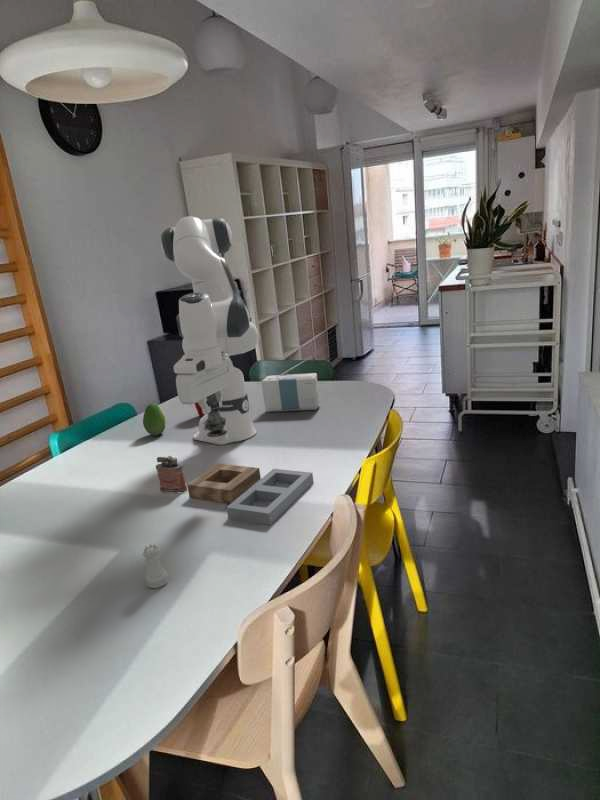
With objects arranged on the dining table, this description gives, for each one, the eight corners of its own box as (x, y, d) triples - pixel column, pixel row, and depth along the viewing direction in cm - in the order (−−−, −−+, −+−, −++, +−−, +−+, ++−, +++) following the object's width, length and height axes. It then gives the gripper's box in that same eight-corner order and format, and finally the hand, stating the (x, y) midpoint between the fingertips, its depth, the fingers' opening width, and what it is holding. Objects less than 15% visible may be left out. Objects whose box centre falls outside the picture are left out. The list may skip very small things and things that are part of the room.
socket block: (189, 498, 146) (187, 484, 145) (219, 476, 158) (217, 463, 157) (232, 504, 139) (230, 490, 138) (261, 481, 151) (259, 468, 150)
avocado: (170, 430, 205) (164, 399, 201) (163, 437, 197) (157, 406, 194) (150, 431, 206) (144, 401, 202) (142, 439, 198) (135, 407, 195)
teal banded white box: (265, 413, 211) (258, 363, 206) (270, 407, 219) (264, 358, 213) (317, 411, 206) (312, 360, 201) (321, 404, 214) (316, 355, 208)
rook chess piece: (148, 577, 112) (141, 543, 110) (170, 574, 112) (163, 540, 110) (144, 591, 108) (136, 555, 105) (167, 587, 108) (159, 552, 106)
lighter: (189, 488, 152) (183, 454, 150) (183, 493, 149) (176, 459, 147) (164, 486, 155) (158, 454, 152) (158, 492, 152) (151, 459, 149)
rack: (228, 518, 133) (226, 507, 132) (274, 478, 152) (273, 468, 151) (270, 525, 127) (269, 513, 126) (313, 482, 146) (312, 472, 145)
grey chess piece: (224, 437, 141) (216, 392, 137) (202, 438, 142) (194, 394, 139) (231, 429, 146) (223, 386, 143) (210, 430, 148) (202, 387, 144)
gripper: (217, 349, 149) (225, 397, 153) (168, 368, 131) (178, 422, 135) (237, 349, 146) (244, 398, 150) (189, 368, 129) (198, 424, 132)
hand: (212, 410), depth 142 cm, fingers closed on grey chess piece, 4 cm apart
